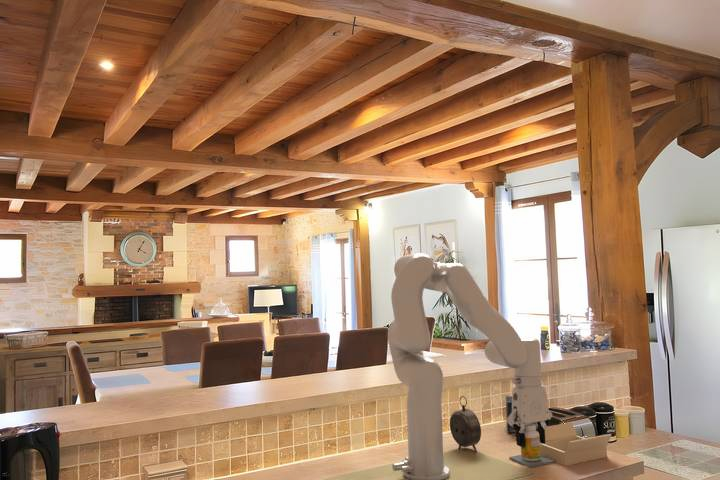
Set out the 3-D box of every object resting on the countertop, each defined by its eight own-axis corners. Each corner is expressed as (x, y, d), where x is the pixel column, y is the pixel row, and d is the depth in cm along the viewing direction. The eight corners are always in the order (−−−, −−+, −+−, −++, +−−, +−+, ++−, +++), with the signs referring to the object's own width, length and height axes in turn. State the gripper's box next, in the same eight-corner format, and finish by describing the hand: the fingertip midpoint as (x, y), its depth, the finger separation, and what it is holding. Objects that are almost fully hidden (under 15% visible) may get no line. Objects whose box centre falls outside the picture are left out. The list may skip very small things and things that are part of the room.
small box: (527, 434, 197) (526, 402, 198) (507, 433, 198) (506, 402, 199) (525, 426, 207) (523, 396, 208) (506, 425, 209) (504, 395, 209)
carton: (571, 467, 162) (570, 441, 162) (532, 452, 177) (531, 428, 177) (613, 459, 168) (611, 434, 169) (571, 445, 183) (570, 422, 183)
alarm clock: (483, 452, 178) (480, 398, 179) (468, 455, 176) (466, 400, 177) (461, 443, 188) (459, 392, 189) (447, 446, 186) (445, 394, 187)
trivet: (530, 467, 163) (529, 465, 163) (509, 459, 171) (509, 457, 171) (555, 462, 167) (555, 460, 167) (533, 454, 175) (533, 452, 175)
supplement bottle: (517, 457, 171) (515, 423, 171) (533, 454, 172) (531, 421, 173) (528, 462, 166) (526, 427, 166) (544, 459, 167) (542, 424, 168)
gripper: (512, 386, 163) (515, 452, 162) (560, 380, 170) (563, 443, 169) (495, 382, 170) (498, 445, 169) (542, 376, 177) (545, 437, 176)
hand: (531, 443), depth 169 cm, fingers open, 6 cm apart
